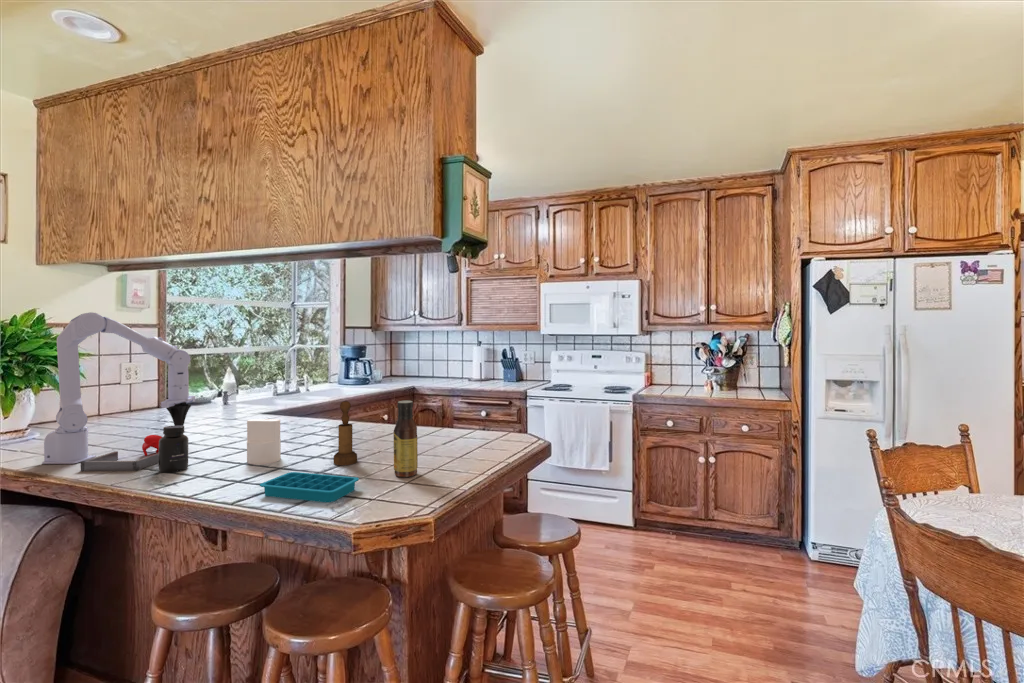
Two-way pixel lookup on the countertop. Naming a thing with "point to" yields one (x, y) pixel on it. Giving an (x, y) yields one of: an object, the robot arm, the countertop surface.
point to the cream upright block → (263, 441)
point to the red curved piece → (151, 443)
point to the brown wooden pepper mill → (345, 439)
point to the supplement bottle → (173, 449)
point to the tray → (117, 463)
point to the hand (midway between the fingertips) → (179, 426)
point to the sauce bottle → (405, 441)
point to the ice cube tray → (309, 486)
